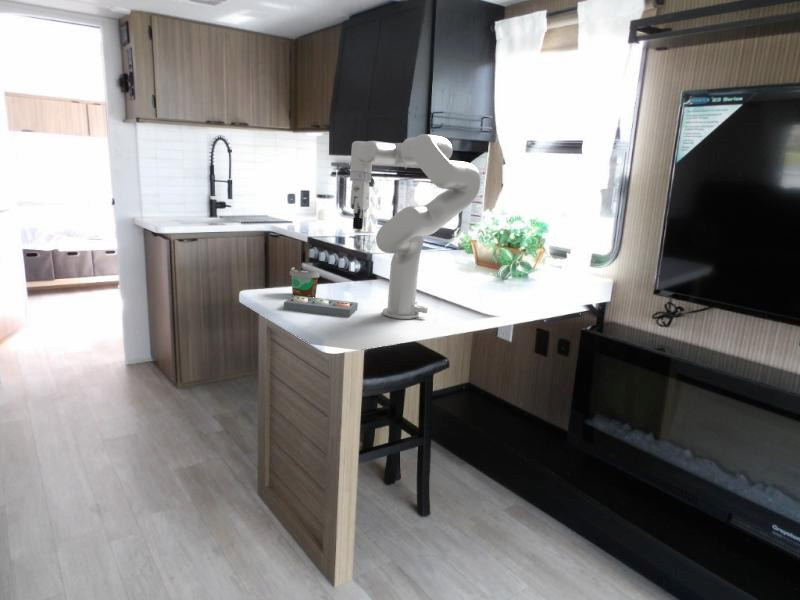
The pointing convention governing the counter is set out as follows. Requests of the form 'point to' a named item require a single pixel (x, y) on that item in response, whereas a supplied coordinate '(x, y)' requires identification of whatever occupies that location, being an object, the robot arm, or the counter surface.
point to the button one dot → (321, 301)
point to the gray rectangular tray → (321, 307)
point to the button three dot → (342, 304)
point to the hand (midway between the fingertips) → (357, 228)
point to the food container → (304, 282)
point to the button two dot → (300, 299)
